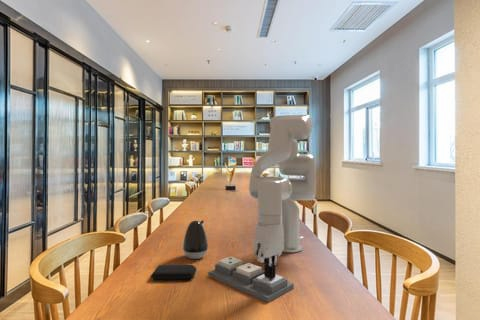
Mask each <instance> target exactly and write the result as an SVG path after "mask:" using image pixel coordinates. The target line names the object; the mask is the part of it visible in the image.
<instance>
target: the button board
mask: <svg viewBox="0 0 480 320" xmlns="http://www.w3.org/2000/svg"><path fill="white" fill-rule="evenodd" d="M244 264H245V263H244V262H242V265H244ZM238 267H239V266H238ZM263 274H264V269H263V270H262V272H260V273H258V274H256V275H254V276H251V277H248V276H245V275H243V274H240V273H238V272H236V268H233V269H227V268H225V267H222V266H220V265H219V262H218V263H216V264H215V265H214V268H213V269H212V270H209V271H208V277H210V278H212V279H214V280H217V281H219V282H222V283H223V284H225V285H228V286H229V287H233V288H234V289H237V290H239V291H240V292H243V293H245V294H248V295H249V296H252V297H254V298H256V299H258V300H261V301H263V302H265V303H270V302H272V301H274V300H275V299H277V298H279V297H281V296H282V295H284V294H286V293H288V292H290V291H291V290H293V289H294V288H295V287H294V285H295V284H294V282H291V281H288V278H284V277H283V281H281V282H279V283H277V284H275V285H273V286H270V285H268V284H265V283H263V282H260V281H258V280H257V277H259V276H261V275H263Z"/></svg>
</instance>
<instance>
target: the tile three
mask: <svg viewBox="0 0 480 320" xmlns="http://www.w3.org/2000/svg"><path fill="white" fill-rule="evenodd" d="M283 278H284V277H283V276H281V275H279V274H277V273H275V278H273V279H270V278H268V277H265V276H264V274H263V275H261V276H259V277H257V280H258V281H260V282H263V283H265V284H268V285H270V286H273V285H275V284H277V283H279V282H281V281H283Z"/></svg>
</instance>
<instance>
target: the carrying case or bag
mask: <svg viewBox="0 0 480 320" xmlns="http://www.w3.org/2000/svg"><path fill="white" fill-rule="evenodd" d="M196 271H197V267H196V265H193V264H159V265H158V266H157V267H156V268H155V269H154V271H153V272H152V274H151V275H150V278H151V279H152V280H153V281H154V282H189V281H190V282H191V281H192V280H193V278H194V277H195V275H196Z"/></svg>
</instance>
